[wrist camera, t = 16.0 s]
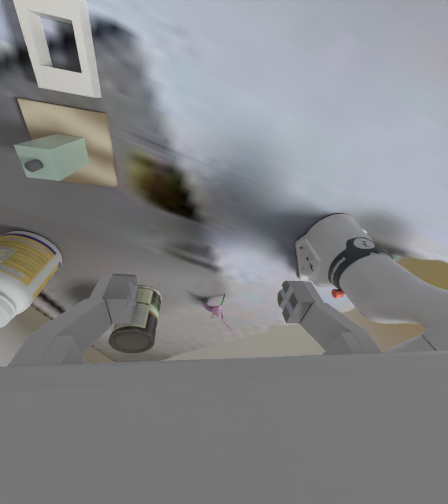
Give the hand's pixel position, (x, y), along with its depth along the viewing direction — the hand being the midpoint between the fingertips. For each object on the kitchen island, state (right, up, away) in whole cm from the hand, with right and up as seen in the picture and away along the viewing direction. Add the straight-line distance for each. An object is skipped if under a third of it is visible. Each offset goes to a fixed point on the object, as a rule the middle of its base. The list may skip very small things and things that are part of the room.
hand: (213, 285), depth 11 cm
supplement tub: (-43, +2, +36) cm, 56 cm away
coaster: (-25, +20, +24) cm, 40 cm away
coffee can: (-23, -11, +49) cm, 55 cm away
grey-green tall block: (-25, +20, +23) cm, 40 cm away
